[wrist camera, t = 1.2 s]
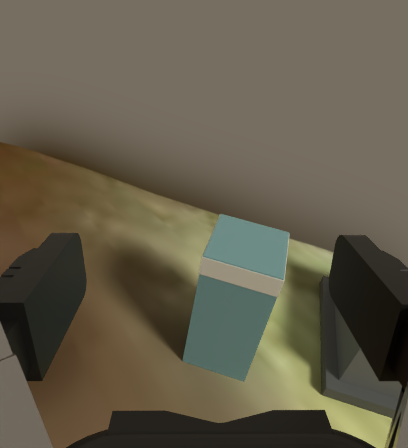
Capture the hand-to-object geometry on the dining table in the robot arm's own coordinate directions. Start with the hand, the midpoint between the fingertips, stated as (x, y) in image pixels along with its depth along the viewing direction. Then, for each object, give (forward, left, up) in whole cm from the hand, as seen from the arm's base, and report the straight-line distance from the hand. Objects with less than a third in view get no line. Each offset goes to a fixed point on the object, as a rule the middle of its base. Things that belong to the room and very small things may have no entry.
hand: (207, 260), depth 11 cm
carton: (+1, +10, -18) cm, 20 cm away
